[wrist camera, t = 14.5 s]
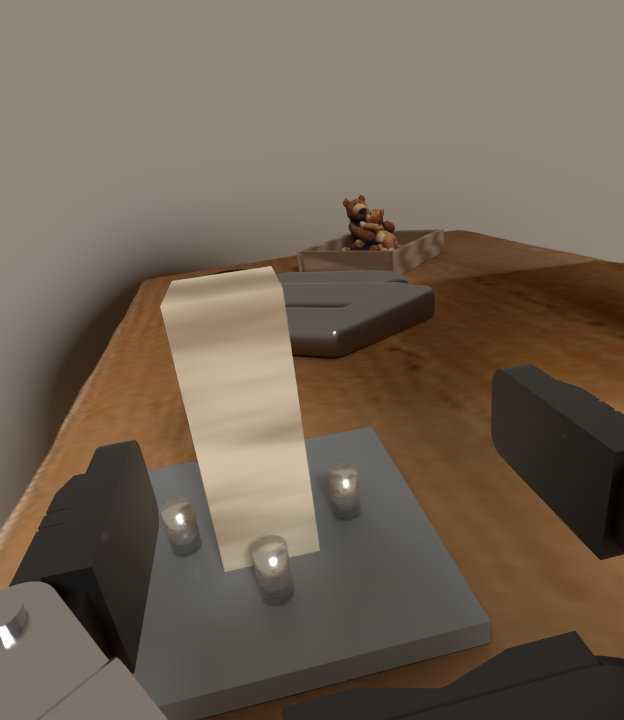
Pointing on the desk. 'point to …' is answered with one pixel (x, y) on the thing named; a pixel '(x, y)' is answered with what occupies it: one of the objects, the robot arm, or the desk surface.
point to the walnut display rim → (373, 254)
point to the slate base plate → (299, 590)
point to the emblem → (350, 309)
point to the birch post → (243, 409)
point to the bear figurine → (369, 228)
